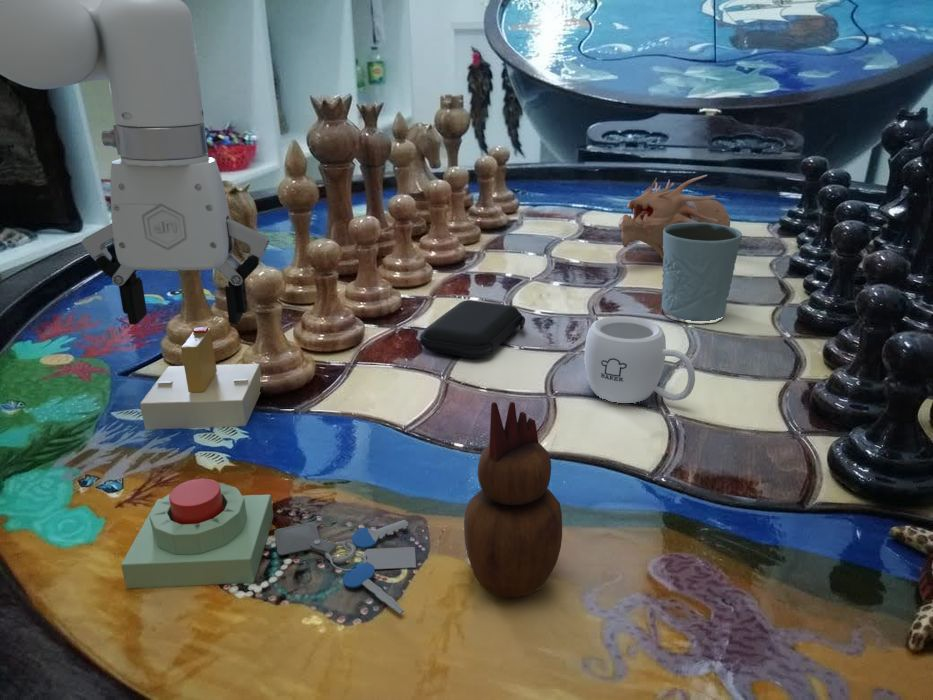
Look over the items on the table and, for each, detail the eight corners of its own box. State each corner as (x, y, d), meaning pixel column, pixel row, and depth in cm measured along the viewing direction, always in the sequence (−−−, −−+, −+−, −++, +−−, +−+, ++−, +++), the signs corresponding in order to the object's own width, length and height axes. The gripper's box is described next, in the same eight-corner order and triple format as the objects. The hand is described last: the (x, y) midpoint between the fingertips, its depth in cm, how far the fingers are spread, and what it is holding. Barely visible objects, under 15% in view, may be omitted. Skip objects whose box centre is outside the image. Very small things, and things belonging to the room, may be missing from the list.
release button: (166, 527, 53) (162, 507, 52) (180, 498, 56) (177, 479, 56) (216, 525, 53) (213, 505, 52) (228, 496, 56) (225, 477, 56)
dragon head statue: (737, 175, 130) (696, 167, 110) (738, 260, 132) (698, 268, 112) (664, 183, 138) (613, 177, 117) (666, 263, 140) (616, 271, 119)
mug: (568, 399, 79) (572, 331, 76) (601, 371, 86) (605, 308, 83) (677, 428, 73) (686, 356, 70) (703, 396, 80) (712, 329, 77)
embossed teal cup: (733, 308, 106) (745, 226, 101) (724, 331, 97) (737, 243, 92) (662, 298, 109) (671, 219, 105) (648, 320, 101) (656, 235, 96)
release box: (126, 589, 52) (115, 543, 51) (161, 521, 60) (153, 479, 58) (254, 583, 53) (247, 538, 51) (273, 516, 60) (268, 475, 58)
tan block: (204, 392, 74) (196, 344, 72) (188, 392, 74) (180, 345, 72) (217, 371, 79) (210, 326, 77) (202, 371, 79) (194, 326, 77)
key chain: (257, 547, 56) (256, 538, 56) (331, 495, 63) (331, 487, 62) (400, 620, 49) (399, 611, 49) (468, 554, 55) (467, 545, 55)
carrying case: (493, 367, 87) (533, 326, 99) (493, 343, 86) (534, 304, 98) (413, 353, 91) (462, 315, 103) (413, 330, 90) (462, 294, 102)
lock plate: (144, 430, 73) (139, 402, 72) (172, 390, 82) (167, 364, 80) (246, 426, 74) (242, 398, 73) (263, 387, 82) (259, 361, 81)
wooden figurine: (478, 618, 49) (479, 423, 43) (455, 564, 54) (453, 382, 49) (571, 598, 51) (583, 407, 45) (540, 547, 56) (548, 370, 50)
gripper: (46, 149, 63) (83, 334, 70) (251, 151, 64) (268, 332, 71) (83, 138, 70) (113, 307, 77) (267, 140, 71) (281, 307, 78)
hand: (187, 319), depth 74 cm, fingers open, 9 cm apart
